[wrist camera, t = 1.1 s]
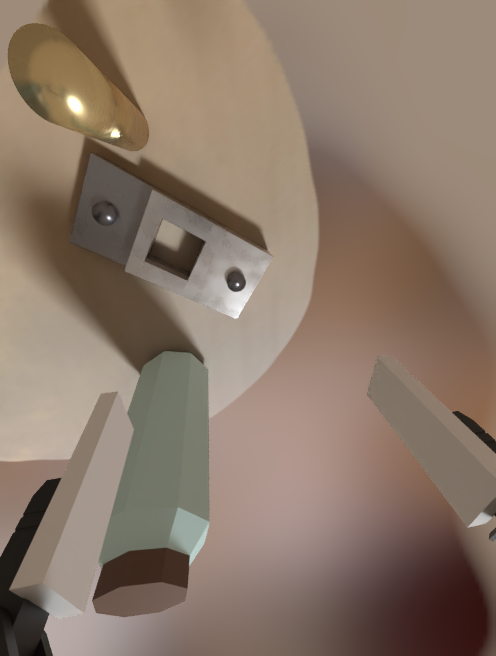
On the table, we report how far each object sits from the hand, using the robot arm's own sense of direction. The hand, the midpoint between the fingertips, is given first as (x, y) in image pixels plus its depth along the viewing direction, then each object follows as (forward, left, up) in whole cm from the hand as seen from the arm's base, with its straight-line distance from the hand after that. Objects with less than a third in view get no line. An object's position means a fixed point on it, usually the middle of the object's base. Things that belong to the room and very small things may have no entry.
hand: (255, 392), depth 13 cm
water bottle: (+1, -18, -22) cm, 29 cm away
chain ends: (-6, 0, -22) cm, 23 cm away
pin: (-14, +8, -22) cm, 27 cm away
